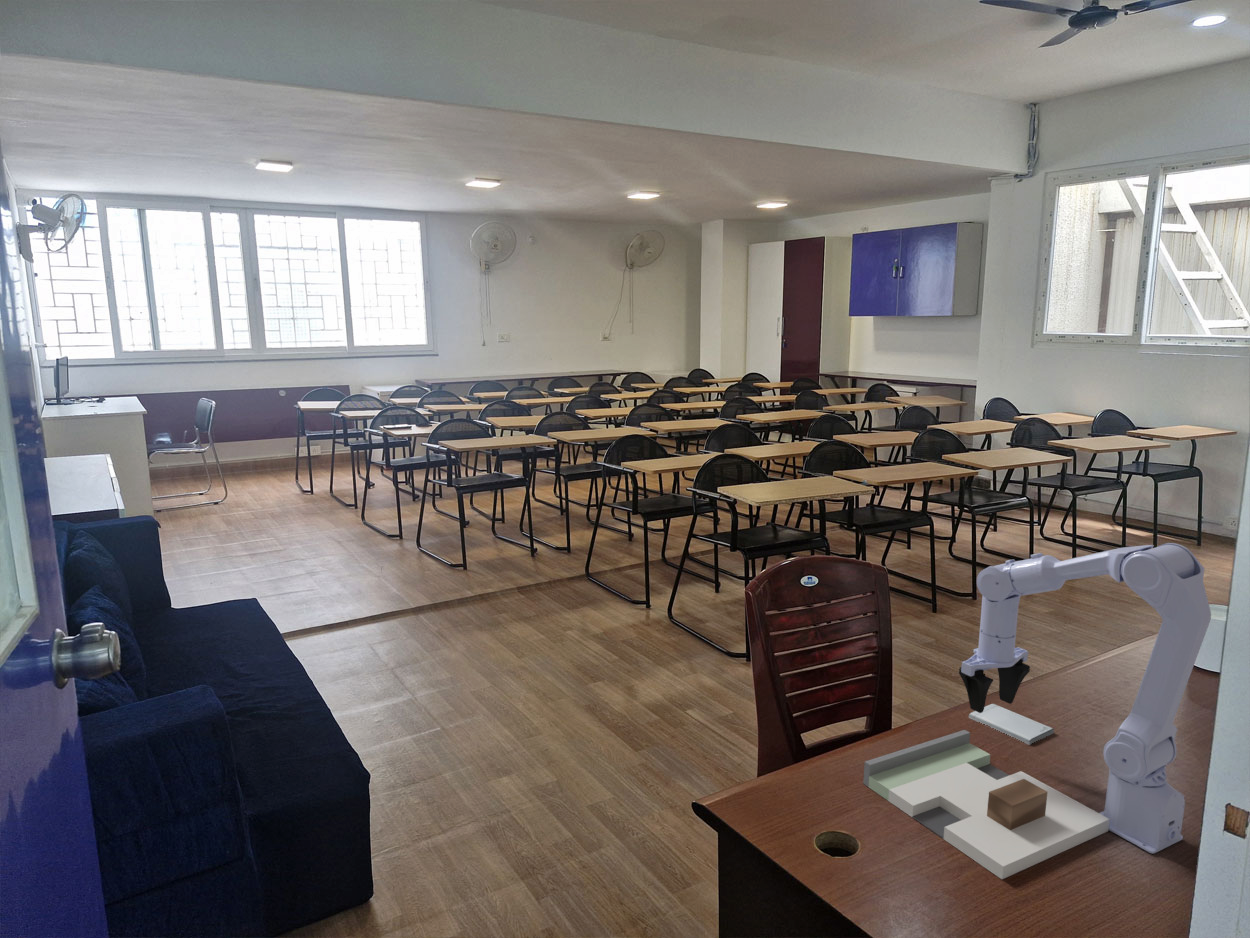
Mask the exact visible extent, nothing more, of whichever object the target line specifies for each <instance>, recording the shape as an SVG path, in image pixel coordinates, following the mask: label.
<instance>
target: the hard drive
mask: <svg viewBox="0 0 1250 938" xmlns="http://www.w3.org/2000/svg"><path fill="white" fill-rule="evenodd" d="M968 719H971V720H973V721H974V722H977V723H979V722H980V724H981V723H982V724H981V725H983V724H985V725H984V726H986V725H988V726H990V727H991V729H992V728H994V729H993V730H995V729H996V730H995V731H997V730H998V731H997V732H999V731H1000V732H999V733H1001V732H1002V734H1003V733H1005V734H1004V735H1006V734H1007V735H1006V736H1008V735H1009V736H1008V737H1010V736H1011V737H1010V738H1012V737H1014V738H1013V739H1015V738H1016V739H1015V740H1017V739H1018V740H1017V741H1019V740H1020V741H1019V742H1021V741H1022V742H1021V743H1023V742H1024V743H1023V744H1026V745H1028V746H1030V745H1032V743H1033V744H1034V742H1035V743H1037V742H1039V741H1040V739H1041V740H1043V739H1045V738H1047V737H1050V736H1051V735H1053V734H1055V733H1054V732H1055V730H1054V729H1055V728H1052V727H1051V726H1048V725H1045V724H1043V723H1040V722H1038V721H1036V720H1033V719H1031V718H1029V717H1027V716H1024V715H1022V714H1019V713H1017V712H1014V711H1012V710H1009V709H1007V708H1005V707H1002V706H1000V705H998V704H996V703H991V704H988V705H985V707H984V710H983V712H982V713H979V712H977V711H975V710H973V711H972V712H970V713H969V714H968ZM988 726H987V727H988ZM990 727H989V728H990ZM1046 736H1047V737H1046ZM1038 740H1039V741H1038ZM1036 741H1037V742H1036Z"/></svg>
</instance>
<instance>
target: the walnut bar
mask: <svg viewBox="0 0 1250 938" xmlns="http://www.w3.org/2000/svg"><path fill="white" fill-rule="evenodd" d="M1046 802H1047V791H1045V790H1043V789H1042V788H1040V787H1038V786H1036V785H1034V784H1033V783H1031V782H1029V781H1027V780H1025V779H1022V780H1019V781H1017V782H1014V783H1011V784H1009V785H1006V786H1003V787H1001V788H998V789H995V790H993V791H990V792H989V798H988V809H987V816H988V817H989V818H991V819H993V820H994V821H996V822H997V823H999V824H1001V825H1002V826H1004V827H1005V828H1007V829H1009V830H1012V829H1015V828H1017V827H1019V826H1022V825H1024V824H1027V823H1029V822H1031V821H1034V820H1036V819H1038V818H1041V817H1043V816H1045V811H1046Z"/></svg>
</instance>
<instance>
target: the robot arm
mask: <svg viewBox="0 0 1250 938" xmlns="http://www.w3.org/2000/svg"><path fill="white" fill-rule="evenodd" d="M1154 546H1155V545H1154V544H1145V545H1137V546H1136V545H1135V546H1126V547H1118V548H1114V549H1108V550H1104V551H1100V552H1095V553H1091V554H1087V555H1083V556H1078V557H1073V558H1069V559H1064V560H1060V559H1058V558H1056V557H1055V556H1053V555H1050V554H1046V555H1043V553H1042V552H1039V553H1034V554H1030V558H1027V559H1026V558H1025V559H1023V560H1017V561H1016V560H1015V559H1008V560H1005V563H1001V564H995V565H994V566H992V565H991V566H988V567H986V568H984V569H982V570H981V571H980V572H979V573H978V574H977V577H976V588H977V590H978V591H979V593H980V594H981V595H982V596H981V597H982V598H981V608H980V609H981V612H980V624H979V636H978V645H977V646H978V647H976V648H973V650H972V651H973V655H972V656H970V657H969V658H967V660H963V661H961V667H959V670H958V674H959V677H960V679H962V682H963V684H964V686H965V690H966V692H967V698H968V703H969V707H970V710H973V711H977V712H979V713H982V712H983V710H984V707H986V700H987V695H988V692H989V689H990V686H991V685H992V684H993V681H994V679H993V678H991V677H989V676H986V673H985V672H984V671H988V670H991V669H997V673H998V680H999V681H998V683H999V684H998V685H999V686H998V693H999V700H1001V701H1003V702H1004V703H1007V704H1009V705H1011V704H1013V702H1014V700H1015V697H1016V694H1017V692H1018V690H1019V688H1020V686H1021V684H1022V682H1023V681H1024V679H1025V678H1026V676H1027V675H1028V674H1029V673H1030V671H1031V667H1030V665H1028V664H1026V662H1028V659H1029V658H1028V656H1029V650H1026V649H1024V648H1021V647H1019V646H1017V647H1016V640H1017V639H1016V637H1017V628H1018V626H1017V625H1018V616H1019V604H1021V603H1020V600H1021V597H1023V596H1028V595H1029V596H1030V595H1034V594H1035V595H1036V594H1040V593H1041V594H1042V593H1047V592H1048V593H1049V592H1053V591H1058V590H1060V589H1061V588H1062V587H1063V586H1064V584H1065V583H1066V581H1068V580H1069V581H1070V580H1077V579H1084V578H1090V577H1092V578H1093V577H1099V576H1106V575H1108V576H1109V577H1111V578H1112V579H1113V580H1114V581H1115V582H1117V583H1122V582H1124V583H1125V584H1126V585H1127V587H1128V588H1129V589H1130V590H1131V591H1133V592H1134V593H1135V594H1136V595H1137V596H1138V597H1140V598H1141V599H1142V600H1143V601H1144V602H1145V603H1147V604H1148V605H1149V606H1151V608H1153V609H1155V611H1156V612H1157V614H1158V615H1159V616H1160V618H1161V620H1162V622H1161V625H1160V627H1159V630H1158V633H1157V636H1156V639H1155V641H1154V646H1153V648H1152V649H1151V652H1150V653H1151V654H1150V657H1149V659H1148V663H1147V665H1146V668H1145V671H1144V674H1143V676H1142V679H1141V683H1140V684H1139V688H1138V691H1137V694H1136V697H1135V699H1134V702H1133V705H1132V708H1131V711H1130V713H1129V714H1128V715H1127V717H1126V718H1125V720H1123V722H1122V723H1121V725H1120V726H1119V727H1118V729H1117V732H1116V734H1115V736H1114V737H1113V738H1112V739H1111V740H1108V741H1107V742H1106V743H1105V745H1104V747H1103V752H1102V753H1103V759H1104V762H1105V764H1106V766H1107V767H1108V769H1109V770H1108V771H1109V772H1108V779H1107V787H1106V795H1105V804H1104V810H1103V811H1100V812H1098V813H1099V814H1101V815H1103V816H1105V817H1107V818H1108V819H1110V820H1109V828H1108V831H1110V832H1111V833H1114V834H1115V835H1117V836H1119V837H1121V838H1122V839H1125V840H1126V841H1128V842H1130V843H1132V844H1133V845H1135V846H1137V847H1138V848H1140V849H1143V850H1144V851H1145V852H1147V853H1149V854H1153V855H1154V854H1156V853H1158V852H1160V851H1162V850H1164V849H1166V848H1168V847H1170V846H1172V845H1174V844H1177V843H1178V842H1180V841H1182V840H1183V839H1184V836H1183V835H1182V828H1183V822H1184V821H1183V820H1184V813H1185V807H1186V803H1185V802H1186V801H1185V797H1184V794H1183V793H1182V792H1180V791H1178V790H1177V789H1175V788H1174V787H1173V786H1171V784H1169V783H1168V781H1167V772H1166V767H1167V765H1170V764H1172V762H1173V761H1174V760H1175V759H1176V757H1177V752H1178V749H1177V745H1176V736H1177V732H1178V727H1177V726H1176V725H1175V724H1174V720H1175V718H1176V714H1177V712H1178V709H1179V706H1180V704H1181V702H1182V698H1183V695H1184V693H1185V690H1186V688H1187V685H1188V683H1189V682H1188V681H1189V679H1190V677H1191V675H1192V672H1193V669H1194V666H1195V664H1196V661H1197V657H1198V655H1199V653H1200V650H1201V647H1202V645H1203V641H1204V639H1205V637H1206V635H1207V634H1206V633H1207V631H1208V628H1209V625H1210V623H1211V618H1212V611H1211V607H1210V604H1209V600H1208V595H1207V592H1206V587H1205V583H1204V575H1205V567H1204V566H1203V565H1202V564H1201V562H1200V561H1199V560H1198V558H1197V557H1196V556H1195V555H1194V553H1193V551H1191V550H1190V549H1189V548H1188V547H1186V546H1184V545H1182V544H1179V543H1175V542H1167V543H1163V544H1160V545H1158V546H1156V547H1154Z"/></svg>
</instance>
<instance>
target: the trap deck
mask: <svg viewBox="0 0 1250 938" xmlns="http://www.w3.org/2000/svg"><path fill="white" fill-rule="evenodd" d="M970 739H971V731H968V730H967V729H963V730H960V731H956V732H952V733H950V734H947V735H944V736H940V737H938V738H935V739H931V740H928V741H924V742H922V743H919V744H914V745H913V746H909V747H905V748H903V749H900V750H899V749H898V750H897V751H893V752H890V753H888V754H884V755H881V756H877V757H874V758H872V759H869V760H865V761H864V766H863V767H864V768H863V780H862V781H863V783H862V784H863V785H865V786H866V787H868V788H869V789H870V790H872V791H873V792H875V793H876V794H877V795H879V796H880V797H882V798H883V799H885V800H886V801H888V802H889V803H890V804H892V805H894V806H895V807H897V808H898V809H899V810H901V811H902V812H903V813H905V814H906V815H908V816H909V817H911V818H912V819H914V820H915V821H917V822H918V823H920V824H921V825H922V826H924V827H926V828H927V829H928V830H929V831H932V832H933V833H934V834H935V835H937V836H938V837H940V838H941V839H943V840H944V841H946V842H947V843H948V844H950V845H951V846H953V847H955V848H956V849H957V850H959V851H960V852H962V853H963V854H965V855H966V856H968V857H969V858H970V859H971V860H974V861H975V863H977V864H978V865H980V866H982V867H983V868H984V869H986V870H988V871H989V872H991V873H992V874H994V875H995V876H996V877H997V878H999V879H1001V880H1004V879H1006V878H1008V877H1010V876H1013V875H1015V874H1017V873H1019V872H1022V871H1024V870H1026V869H1028V868H1031V867H1032V866H1035V865H1037V864H1039V863H1042V862H1044V861H1047V860H1048V859H1050V858H1052V857H1055V856H1057V855H1058V854H1062V853H1063V852H1066V851H1067V850H1068V851H1069V849H1072V848H1075V847H1076V846H1078V845H1081V844H1083V843H1084V842H1085V843H1086V842H1088V841H1089V840H1092V839H1094V838H1096V837H1098V836H1101V835H1102V834H1105V833H1107V832H1109V830H1108V828H1109V820H1110V819H1108V818H1107V817H1105V816H1103V815H1101V814H1099V813H1100V812H1098V811H1096V810H1094V809H1093V808H1090V807H1088V806H1087V805H1084V804H1083V803H1081V802H1078V801H1077V800H1075V799H1074V798H1072V797H1070V796H1068V795H1066V794H1064V793H1062V792H1061V791H1059V790H1057V789H1055V788H1053V787H1051V786H1049V785H1048V784H1046V783H1044V782H1042V781H1040V780H1038V779H1037V778H1035V777H1033V776H1031V775H1029V774H1027V772H1023V771H1022V770H1020V771H1018V772H1014V773H1012V774H1009V773H1006V771H1005V772H1004V771H1003V770H1001V769H999V768H998V767H996V766H994V765H993V764H991V763H990V762H991V754H990V753H988V752H987V751H985V750H983V749H981V748H979V747H978V746H976V745H974V744H972V743H970ZM1022 779H1025V780H1027V781H1029V782H1031V783H1033V784H1034V785H1036V786H1038V787H1040V788H1042V789H1043V790H1045V791H1047V802H1046V811H1045V816H1043V817H1041V818H1038V819H1036V820H1034V821H1031V822H1029V823H1027V824H1024V825H1022V826H1019V827H1017V828H1015V829H1012V830H1009V829H1007V828H1005V827H1004V826H1002V825H1001V824H999V823H997V822H996V821H994V820H993V819H991V818H989V817H988V816H987V809H988V798H989V792H990V791H993V790H995V789H998V788H1001V787H1003V786H1006V785H1009V784H1011V783H1014V782H1017V781H1019V780H1022Z"/></svg>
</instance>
